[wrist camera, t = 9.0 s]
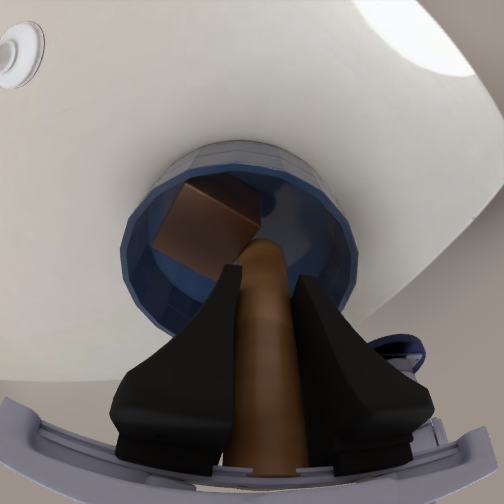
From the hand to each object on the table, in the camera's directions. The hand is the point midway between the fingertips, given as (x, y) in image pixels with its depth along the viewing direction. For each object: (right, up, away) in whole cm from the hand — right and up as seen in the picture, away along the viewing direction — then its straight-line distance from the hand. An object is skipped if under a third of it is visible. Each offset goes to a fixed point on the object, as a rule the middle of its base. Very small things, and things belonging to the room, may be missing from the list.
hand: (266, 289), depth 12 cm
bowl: (-1, +2, +7) cm, 8 cm away
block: (-3, +4, +5) cm, 7 cm away
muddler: (0, +1, +3) cm, 3 cm away
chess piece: (-16, +15, -1) cm, 22 cm away
